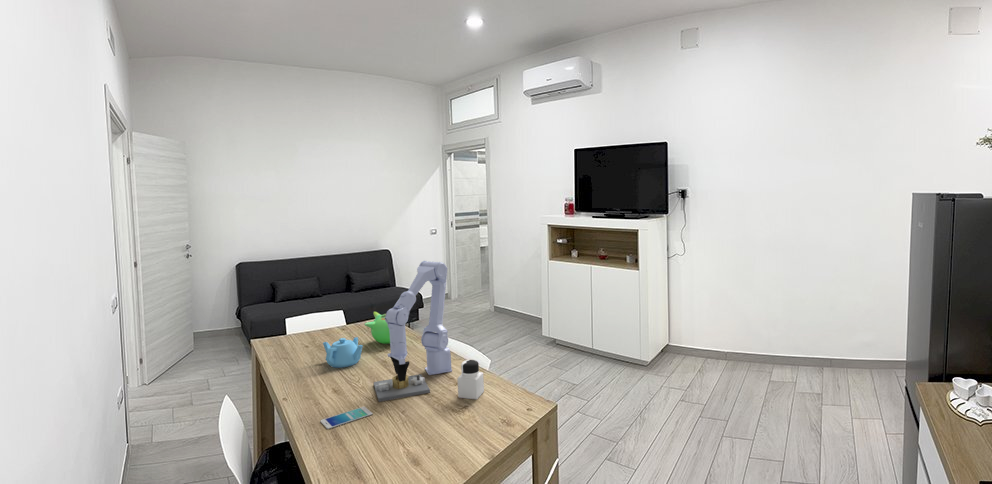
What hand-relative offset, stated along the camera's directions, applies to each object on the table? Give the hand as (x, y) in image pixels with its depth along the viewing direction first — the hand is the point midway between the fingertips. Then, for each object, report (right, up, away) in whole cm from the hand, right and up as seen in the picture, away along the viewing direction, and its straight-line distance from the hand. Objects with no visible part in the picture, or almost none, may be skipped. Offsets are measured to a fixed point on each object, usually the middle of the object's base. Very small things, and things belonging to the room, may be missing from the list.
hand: (400, 377), depth 178 cm
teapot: (-30, -3, +31) cm, 43 cm away
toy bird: (-17, +1, +57) cm, 59 cm away
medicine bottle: (+26, -4, -7) cm, 28 cm away
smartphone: (-13, -8, -21) cm, 26 cm away
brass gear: (0, -3, 0) cm, 3 cm away
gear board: (0, -4, +1) cm, 4 cm away
